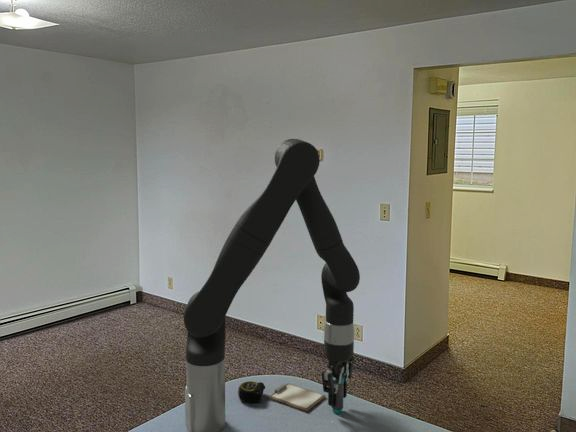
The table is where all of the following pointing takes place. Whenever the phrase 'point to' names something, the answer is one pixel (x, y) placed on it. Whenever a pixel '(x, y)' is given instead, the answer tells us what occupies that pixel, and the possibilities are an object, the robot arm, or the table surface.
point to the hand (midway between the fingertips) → (337, 400)
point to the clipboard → (296, 397)
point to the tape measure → (251, 391)
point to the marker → (339, 397)
